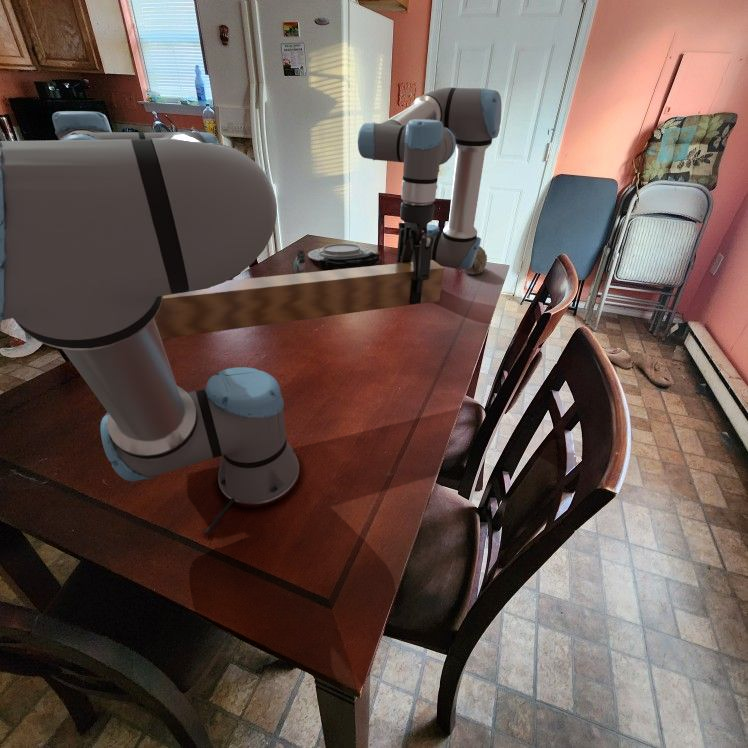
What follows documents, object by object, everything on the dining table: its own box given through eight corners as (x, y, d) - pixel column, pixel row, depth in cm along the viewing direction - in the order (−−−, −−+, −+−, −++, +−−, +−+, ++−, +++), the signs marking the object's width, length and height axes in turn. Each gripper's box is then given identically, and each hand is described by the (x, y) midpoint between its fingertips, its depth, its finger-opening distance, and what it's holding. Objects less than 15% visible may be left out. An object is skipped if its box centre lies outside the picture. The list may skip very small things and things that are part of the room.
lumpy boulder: (492, 272, 181) (486, 271, 168) (466, 277, 186) (459, 276, 172) (488, 246, 179) (483, 243, 166) (463, 252, 184) (455, 249, 171)
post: (106, 346, 81) (91, 306, 76) (110, 332, 85) (95, 293, 80) (439, 301, 105) (444, 267, 100) (428, 291, 109) (432, 259, 104)
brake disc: (384, 268, 175) (385, 257, 172) (315, 273, 167) (314, 261, 165) (365, 245, 200) (365, 235, 197) (303, 249, 193) (302, 238, 190)
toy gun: (299, 275, 149) (295, 248, 149) (295, 286, 168) (292, 261, 167) (309, 275, 150) (305, 247, 150) (304, 285, 169) (302, 261, 168)
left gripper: (130, 228, 66) (166, 352, 79) (138, 202, 81) (168, 310, 94) (75, 232, 64) (122, 358, 77) (95, 204, 78) (131, 314, 91)
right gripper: (454, 211, 85) (440, 312, 99) (414, 191, 99) (407, 282, 113) (421, 213, 83) (411, 316, 96) (386, 193, 97) (381, 285, 111)
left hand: (147, 331), depth 85 cm, fingers closed on post, 6 cm apart
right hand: (409, 297), depth 105 cm, fingers closed on post, 6 cm apart
